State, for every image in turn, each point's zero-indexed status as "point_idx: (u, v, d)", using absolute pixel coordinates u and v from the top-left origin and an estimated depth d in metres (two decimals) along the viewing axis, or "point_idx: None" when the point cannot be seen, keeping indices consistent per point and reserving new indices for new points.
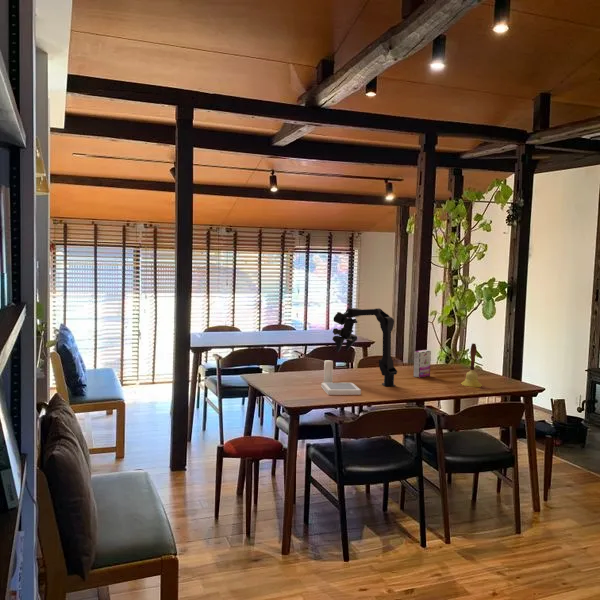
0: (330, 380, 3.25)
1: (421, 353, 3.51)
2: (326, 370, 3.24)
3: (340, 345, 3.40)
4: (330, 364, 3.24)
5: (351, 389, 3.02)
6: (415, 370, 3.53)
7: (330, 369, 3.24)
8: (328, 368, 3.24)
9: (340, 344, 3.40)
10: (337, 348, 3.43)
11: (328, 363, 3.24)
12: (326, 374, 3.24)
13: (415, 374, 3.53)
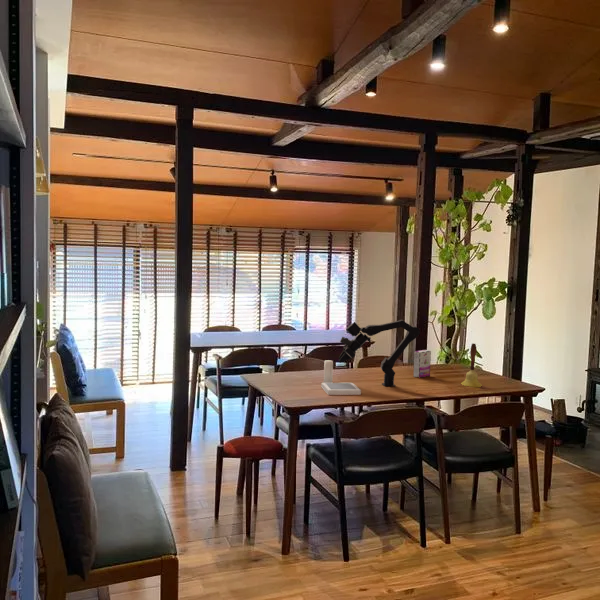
0: (330, 380, 3.25)
1: (421, 353, 3.51)
2: (326, 370, 3.24)
3: (348, 358, 3.20)
4: (330, 364, 3.24)
5: (351, 389, 3.02)
6: (415, 370, 3.53)
7: (330, 369, 3.24)
8: (328, 368, 3.24)
9: (349, 358, 3.20)
10: (342, 359, 3.21)
11: (328, 363, 3.24)
12: (326, 374, 3.24)
13: (415, 374, 3.53)
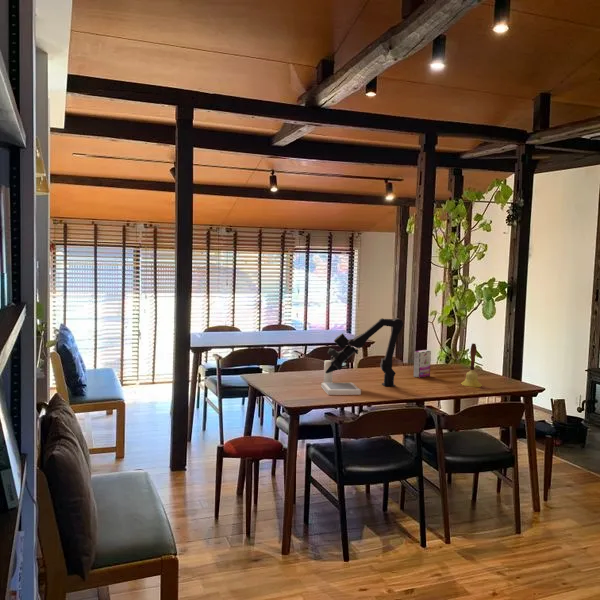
0: (330, 380, 3.25)
1: (421, 353, 3.51)
2: (326, 370, 3.24)
3: None
4: (330, 364, 3.24)
5: (351, 389, 3.02)
6: (415, 370, 3.53)
7: None
8: None
9: (336, 369, 3.22)
10: (329, 370, 3.23)
11: (328, 363, 3.24)
12: (326, 374, 3.24)
13: (415, 374, 3.53)
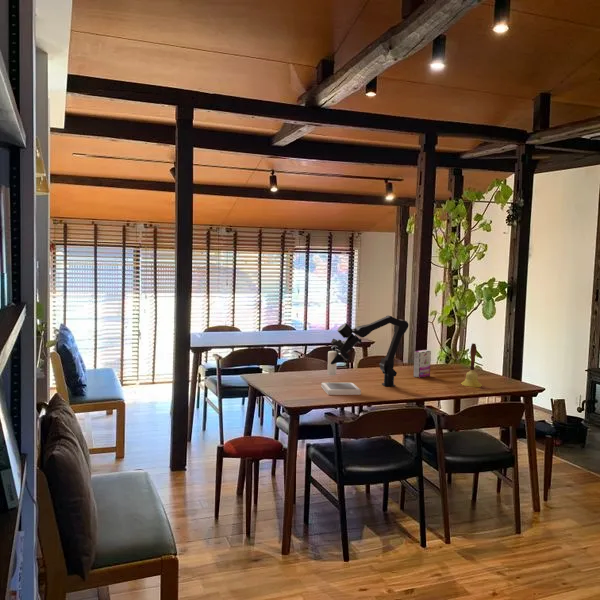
0: (335, 371, 3.16)
1: (421, 353, 3.51)
2: (331, 361, 3.15)
3: (341, 360, 3.14)
4: (335, 355, 3.15)
5: (351, 389, 3.02)
6: (415, 370, 3.53)
7: None
8: None
9: (342, 359, 3.14)
10: (334, 361, 3.14)
11: (333, 354, 3.15)
12: (331, 365, 3.15)
13: (415, 374, 3.53)
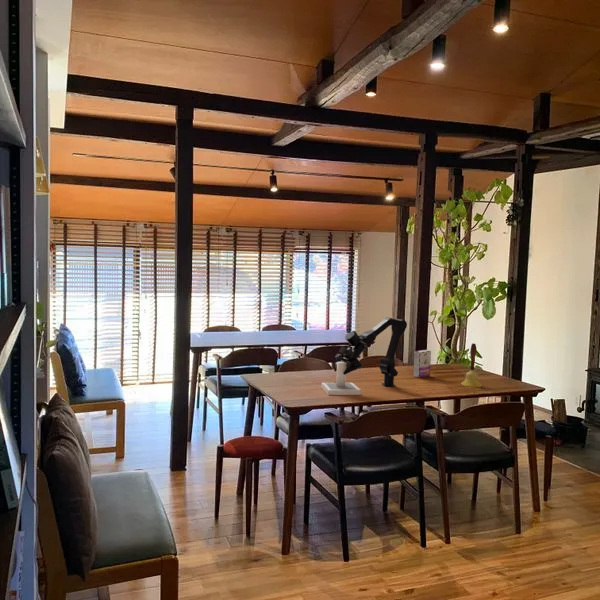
0: None
1: (421, 353, 3.51)
2: (341, 372, 3.06)
3: None
4: (345, 366, 3.06)
5: (351, 389, 3.02)
6: (415, 370, 3.53)
7: None
8: (343, 370, 3.06)
9: (354, 369, 3.05)
10: (347, 371, 3.04)
11: (343, 365, 3.05)
12: (341, 377, 3.06)
13: (415, 374, 3.53)
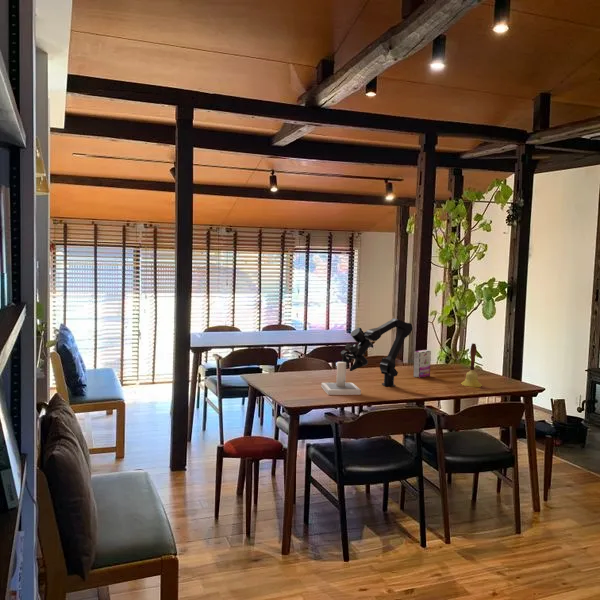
0: None
1: (421, 353, 3.51)
2: (341, 372, 3.06)
3: (360, 366, 3.06)
4: (345, 366, 3.06)
5: (351, 389, 3.02)
6: (415, 370, 3.53)
7: (345, 371, 3.07)
8: (343, 370, 3.06)
9: (360, 365, 3.06)
10: (353, 367, 3.05)
11: (343, 365, 3.05)
12: (341, 377, 3.06)
13: (415, 374, 3.53)
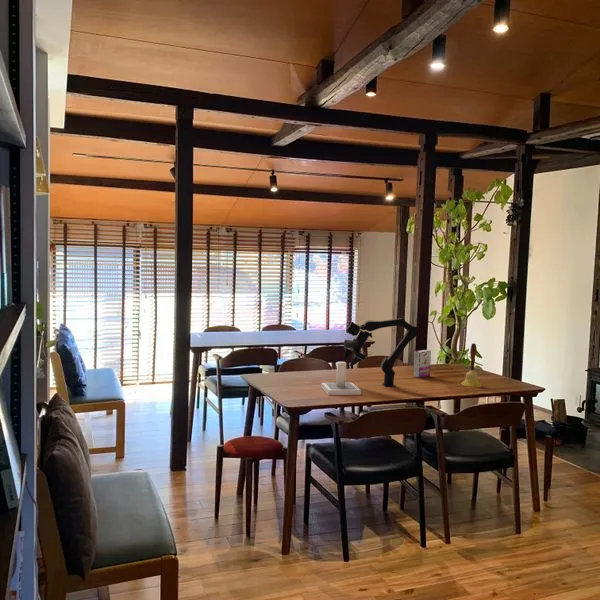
0: None
1: (421, 353, 3.51)
2: (341, 372, 3.06)
3: (359, 361, 3.22)
4: (345, 365, 3.06)
5: (351, 389, 3.02)
6: (415, 370, 3.53)
7: (345, 371, 3.07)
8: (343, 370, 3.06)
9: (360, 360, 3.22)
10: (353, 363, 3.22)
11: (343, 365, 3.05)
12: (341, 376, 3.06)
13: (415, 374, 3.53)
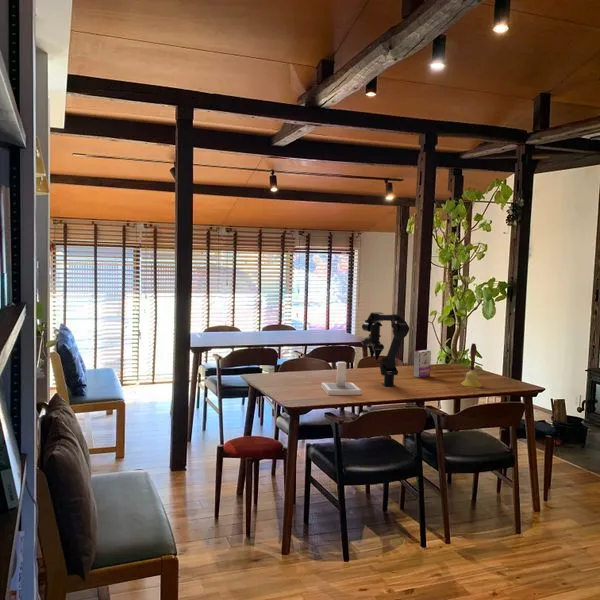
0: None
1: (421, 353, 3.51)
2: (341, 372, 3.06)
3: (381, 351, 3.33)
4: (345, 365, 3.06)
5: (351, 389, 3.02)
6: (415, 370, 3.53)
7: (345, 371, 3.07)
8: (343, 370, 3.06)
9: (380, 350, 3.33)
10: (376, 356, 3.34)
11: (343, 365, 3.05)
12: (341, 376, 3.06)
13: (415, 374, 3.53)
